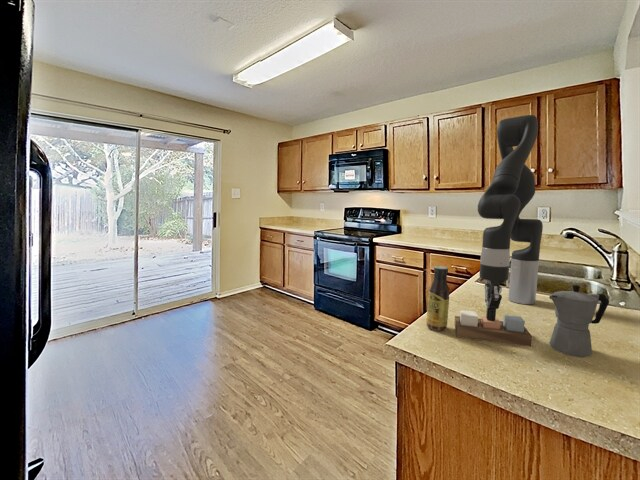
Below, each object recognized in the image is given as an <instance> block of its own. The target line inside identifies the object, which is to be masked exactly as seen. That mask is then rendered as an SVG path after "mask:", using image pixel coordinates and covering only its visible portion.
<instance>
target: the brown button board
mask: <svg viewBox="0 0 640 480" xmlns="http://www.w3.org/2000/svg"><path fill="white" fill-rule="evenodd" d="M499 322H500V323H501V325H500V329H492V328H483V327H482V326H481V318H478V325H477V327H475V326H466V325H460V315H459V316H458V315H454V324H453V325H454V329H455V334H456V338H462V339H468V340H469V339H471V340H477V341H485V342H491V343H492V342H493V343H500V344H508V345H515V346H522V347H523V346H524V347H530V348H531V347H532V344H533V342H532V341H533V336H532V334H531V332H530V331H529V330H528V329H527V328H526V326H525V325H524V332H517V331H508V330H505V329H504V327H503V320H499Z"/></svg>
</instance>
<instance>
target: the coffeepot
mask: <svg viewBox="0 0 640 480" xmlns="http://www.w3.org/2000/svg"><path fill="white" fill-rule="evenodd" d="M571 286H572V290H559V291H555V292H553V294H551V295H549V299H550V300H551V301H552V302H553V304H554V311H555V312H554V313H555V317H556V323H555V324H554V327H553V330H552V332H551V337H550V340H549V342H548V343H549V345H550V347H551V349H553V350H554V351H556V352H559V353H561V354H564V355H567V356H571V357H576V358H587V357H590V356H591V355H593V348H592V347H593V346H592V339H591V330H590V329H589V326H590V324H592V325H593V324H594V325H595V324H599V323H600V322H601V320H602V318H603V316H604V314H605V312H606V310H607V308H608V306H609V305H610V304H609V303H610V299H608V297H607V296H606V295H605V294H603V293H589V294H588V293H584V292H580V288H581V286H580V285H579V284H573V285H571ZM599 301H600V303H599ZM598 303H599V306H598V310H597V311H596V309H597V305H598ZM595 312H596V313H595ZM594 315H595V318H594ZM593 318H594V319H593Z"/></svg>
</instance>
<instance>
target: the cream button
mask: <svg viewBox="0 0 640 480" xmlns="http://www.w3.org/2000/svg"><path fill="white" fill-rule="evenodd" d="M459 316H460V325H466V326H475V327H477V325H478V319H479V316H478V313H477V311H473V310H463V309H461V310H460V314H459Z"/></svg>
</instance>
